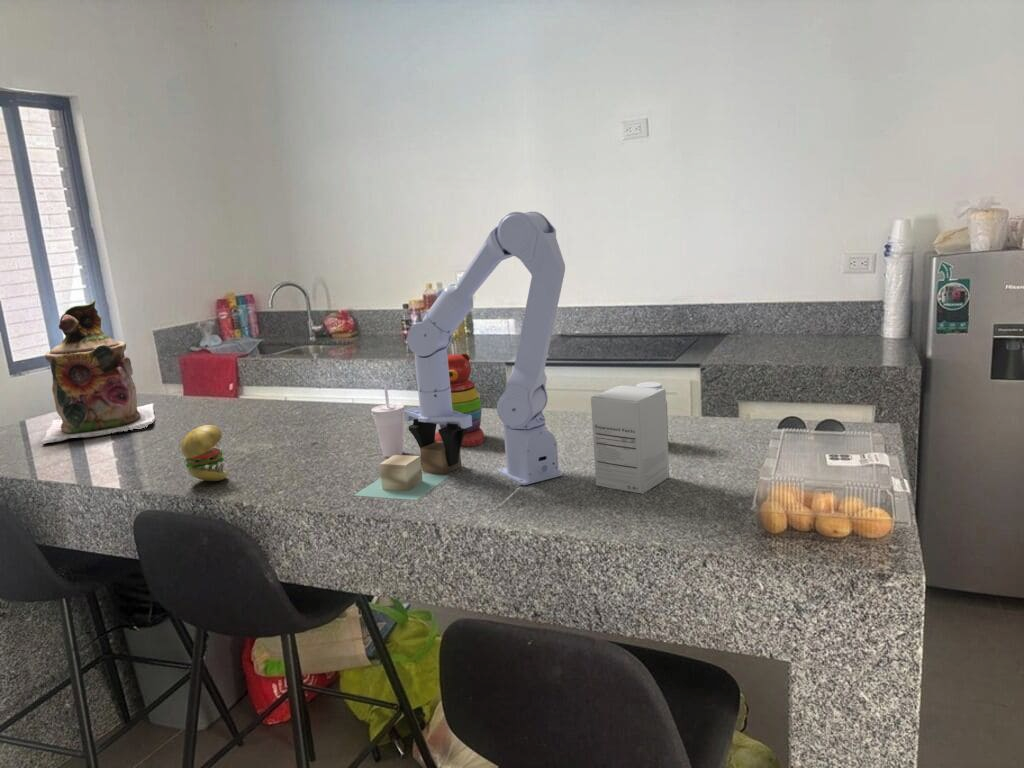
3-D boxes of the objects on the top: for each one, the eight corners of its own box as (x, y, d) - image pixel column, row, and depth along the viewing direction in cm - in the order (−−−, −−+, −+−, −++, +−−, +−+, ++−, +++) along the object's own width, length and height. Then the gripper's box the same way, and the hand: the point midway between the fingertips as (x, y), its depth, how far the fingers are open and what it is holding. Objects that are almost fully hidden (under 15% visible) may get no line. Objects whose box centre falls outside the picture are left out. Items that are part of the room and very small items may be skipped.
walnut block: (461, 467, 136) (459, 443, 135) (443, 476, 132) (440, 451, 131) (441, 464, 139) (438, 440, 138) (422, 472, 135) (420, 448, 134)
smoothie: (378, 462, 143) (369, 390, 140) (375, 453, 149) (367, 384, 146) (411, 457, 144) (404, 386, 142) (407, 449, 150) (399, 380, 148)
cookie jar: (53, 426, 197) (27, 304, 190) (155, 410, 206) (135, 294, 200) (39, 448, 174) (11, 310, 168) (155, 429, 184) (132, 299, 178)
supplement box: (623, 469, 128) (619, 384, 125) (670, 477, 123) (667, 388, 119) (593, 486, 121) (588, 395, 118) (642, 495, 116) (638, 400, 113)
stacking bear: (427, 447, 151) (418, 359, 147) (443, 433, 160) (435, 350, 157) (479, 447, 148) (471, 358, 145) (492, 432, 158) (485, 349, 154)
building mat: (450, 477, 131) (449, 475, 131) (416, 501, 120) (416, 500, 120) (390, 473, 136) (390, 472, 135) (353, 497, 125) (353, 495, 125)
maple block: (422, 481, 129) (420, 456, 128) (408, 491, 125) (405, 465, 124) (397, 479, 131) (394, 454, 130) (382, 489, 126) (379, 463, 126)
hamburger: (236, 480, 138) (226, 417, 136) (197, 492, 133) (186, 427, 131) (219, 473, 144) (209, 412, 141) (181, 483, 139) (170, 421, 137)
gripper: (388, 390, 134) (396, 463, 136) (450, 396, 125) (457, 474, 128) (416, 382, 139) (423, 452, 142) (477, 387, 130) (483, 462, 133)
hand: (441, 462), depth 135 cm, fingers closed on walnut block, 5 cm apart
